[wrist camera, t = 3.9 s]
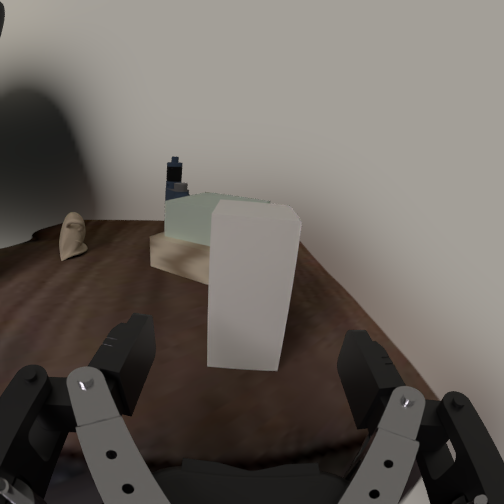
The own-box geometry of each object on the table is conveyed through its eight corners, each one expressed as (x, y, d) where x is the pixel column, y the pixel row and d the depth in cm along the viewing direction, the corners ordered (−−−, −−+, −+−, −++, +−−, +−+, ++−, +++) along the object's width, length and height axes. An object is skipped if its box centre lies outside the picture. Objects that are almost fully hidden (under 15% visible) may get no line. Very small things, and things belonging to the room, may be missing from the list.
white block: (207, 366, 18) (211, 213, 15) (214, 327, 22) (220, 199, 19) (277, 370, 18) (301, 221, 15) (272, 332, 22) (289, 205, 19)
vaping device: (176, 229, 47) (179, 156, 43) (190, 238, 43) (194, 157, 39) (162, 231, 45) (164, 156, 41) (175, 240, 42) (178, 157, 38)
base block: (151, 269, 32) (149, 236, 31) (202, 245, 42) (203, 218, 41) (233, 297, 28) (236, 259, 27) (273, 263, 38) (277, 233, 37)
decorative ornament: (85, 241, 38) (82, 206, 36) (90, 261, 32) (87, 218, 30) (60, 245, 35) (56, 209, 34) (60, 265, 29) (55, 222, 27)
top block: (164, 236, 32) (165, 200, 30) (205, 220, 40) (206, 192, 38) (236, 252, 29) (240, 212, 27) (267, 232, 37) (270, 201, 35)
